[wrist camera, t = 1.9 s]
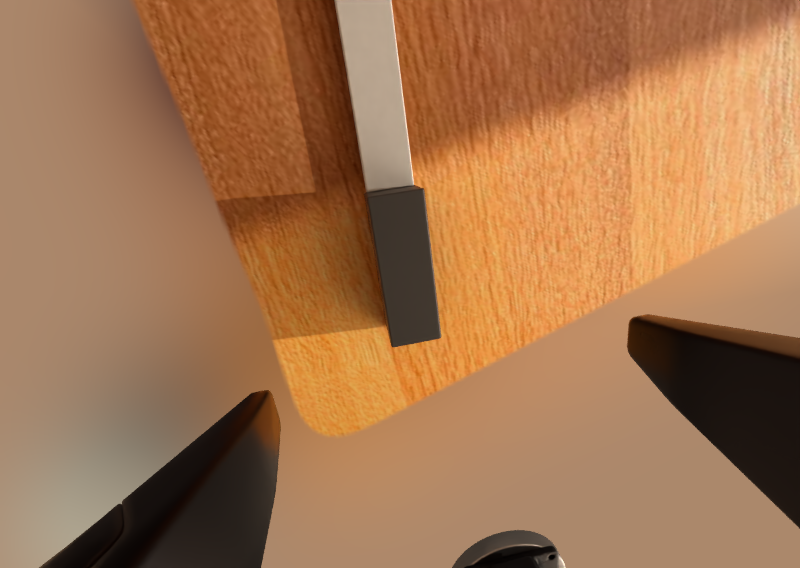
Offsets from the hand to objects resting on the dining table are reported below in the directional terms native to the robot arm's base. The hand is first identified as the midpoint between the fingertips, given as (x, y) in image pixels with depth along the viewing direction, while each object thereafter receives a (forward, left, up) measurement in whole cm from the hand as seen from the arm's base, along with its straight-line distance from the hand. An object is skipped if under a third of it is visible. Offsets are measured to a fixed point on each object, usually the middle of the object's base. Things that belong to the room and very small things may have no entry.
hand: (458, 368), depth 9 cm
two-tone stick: (+5, 0, -10) cm, 11 cm away
